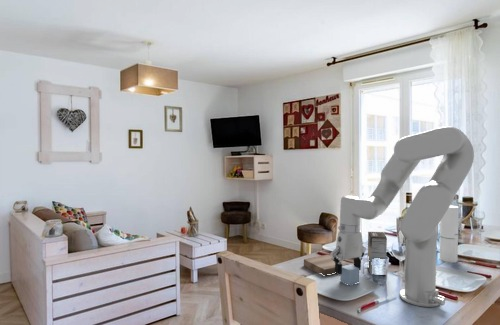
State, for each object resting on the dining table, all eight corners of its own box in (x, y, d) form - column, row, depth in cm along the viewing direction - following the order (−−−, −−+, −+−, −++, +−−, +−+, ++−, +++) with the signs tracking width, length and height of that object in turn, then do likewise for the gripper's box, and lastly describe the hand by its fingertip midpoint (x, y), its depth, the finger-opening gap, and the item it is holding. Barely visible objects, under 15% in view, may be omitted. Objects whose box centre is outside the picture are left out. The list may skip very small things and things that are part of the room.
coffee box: (367, 267, 147) (367, 231, 146) (382, 268, 146) (383, 231, 145) (370, 275, 138) (370, 236, 137) (386, 276, 137) (387, 237, 136)
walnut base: (350, 270, 143) (350, 263, 143) (324, 276, 137) (324, 269, 137) (328, 260, 156) (328, 254, 155) (303, 265, 149) (303, 259, 149)
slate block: (359, 283, 130) (359, 268, 130) (349, 286, 128) (349, 270, 127) (349, 279, 134) (350, 264, 134) (340, 281, 132) (340, 266, 132)
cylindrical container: (461, 261, 154) (462, 207, 153) (449, 263, 152) (451, 208, 150) (446, 256, 161) (448, 204, 160) (435, 258, 158) (437, 205, 157)
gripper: (339, 232, 123) (337, 278, 124) (373, 228, 131) (371, 271, 132) (325, 227, 129) (324, 271, 131) (358, 223, 137) (357, 264, 139)
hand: (347, 271), depth 131 cm, fingers open, 9 cm apart
